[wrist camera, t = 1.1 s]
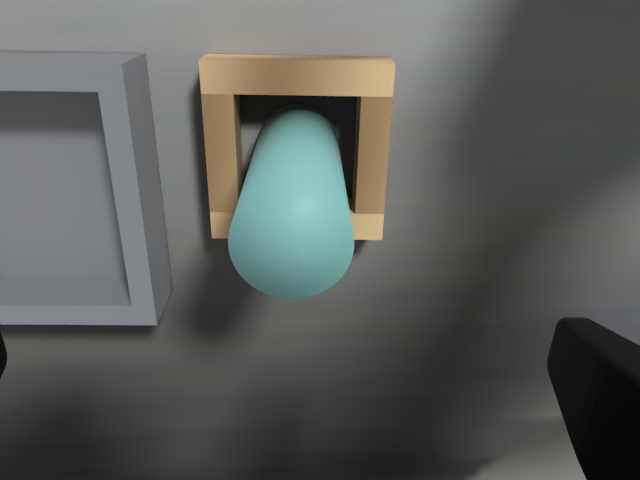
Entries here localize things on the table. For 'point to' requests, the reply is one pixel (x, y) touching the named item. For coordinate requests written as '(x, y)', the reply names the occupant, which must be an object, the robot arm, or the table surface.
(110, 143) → the tray
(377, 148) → the collar
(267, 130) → the dowel
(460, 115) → the table surface
